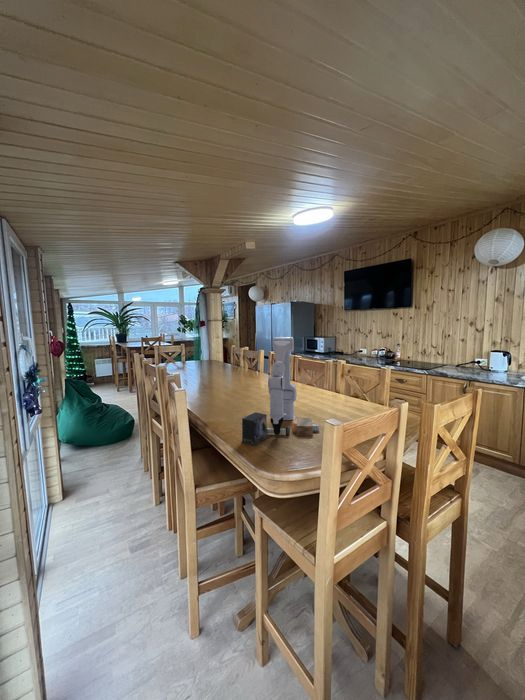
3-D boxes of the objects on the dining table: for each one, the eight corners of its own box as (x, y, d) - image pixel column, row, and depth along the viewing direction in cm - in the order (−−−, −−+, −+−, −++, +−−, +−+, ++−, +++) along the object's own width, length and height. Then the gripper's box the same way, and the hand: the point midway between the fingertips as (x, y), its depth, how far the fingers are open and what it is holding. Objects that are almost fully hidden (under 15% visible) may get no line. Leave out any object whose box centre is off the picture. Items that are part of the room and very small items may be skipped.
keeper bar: (266, 433, 137) (266, 429, 137) (266, 432, 138) (266, 428, 138) (285, 433, 136) (285, 429, 136) (285, 432, 138) (285, 428, 137)
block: (296, 435, 137) (296, 426, 136) (296, 425, 149) (296, 417, 148) (312, 435, 136) (312, 426, 136) (311, 426, 148) (311, 417, 147)
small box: (254, 445, 126) (253, 420, 125) (241, 442, 130) (240, 418, 129) (267, 437, 135) (267, 413, 134) (255, 434, 139) (254, 411, 138)
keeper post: (285, 435, 136) (285, 427, 136) (285, 434, 138) (285, 426, 138) (289, 435, 136) (289, 427, 136) (289, 434, 138) (289, 426, 137)
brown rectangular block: (293, 432, 140) (293, 423, 139) (293, 428, 146) (293, 419, 145) (319, 433, 139) (319, 424, 138) (318, 428, 145) (318, 420, 144)
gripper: (285, 408, 125) (285, 441, 126) (286, 399, 139) (286, 428, 140) (268, 408, 126) (268, 440, 127) (270, 399, 140) (271, 428, 141)
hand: (277, 434), depth 134 cm, fingers closed
